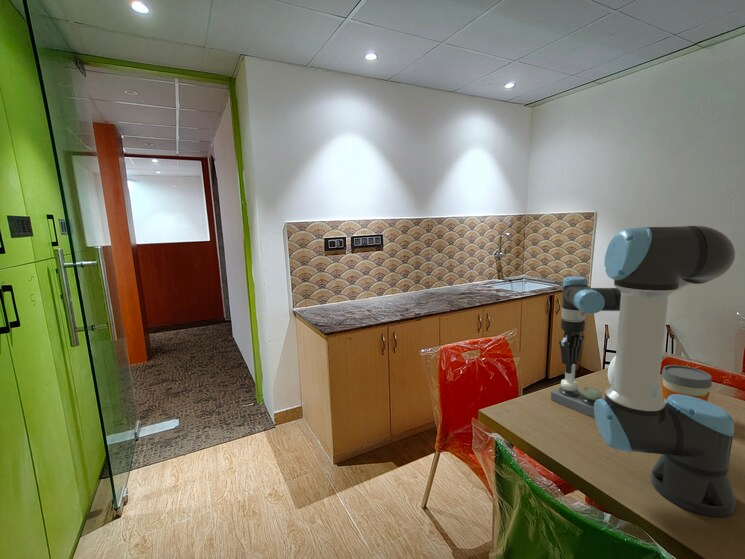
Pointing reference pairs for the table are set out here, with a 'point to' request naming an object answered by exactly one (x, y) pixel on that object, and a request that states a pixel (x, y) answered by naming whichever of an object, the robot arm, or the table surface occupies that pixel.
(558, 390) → the button panel
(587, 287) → the robot arm
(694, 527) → the table surface
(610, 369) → the sauce bottle
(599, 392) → the sage button
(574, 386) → the cream button
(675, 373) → the reusable coffee cup
